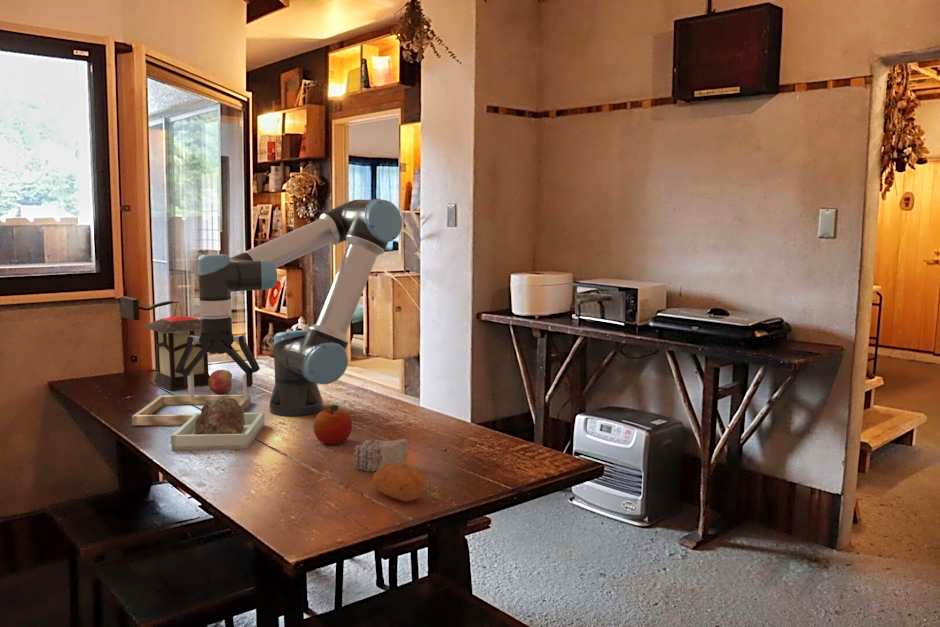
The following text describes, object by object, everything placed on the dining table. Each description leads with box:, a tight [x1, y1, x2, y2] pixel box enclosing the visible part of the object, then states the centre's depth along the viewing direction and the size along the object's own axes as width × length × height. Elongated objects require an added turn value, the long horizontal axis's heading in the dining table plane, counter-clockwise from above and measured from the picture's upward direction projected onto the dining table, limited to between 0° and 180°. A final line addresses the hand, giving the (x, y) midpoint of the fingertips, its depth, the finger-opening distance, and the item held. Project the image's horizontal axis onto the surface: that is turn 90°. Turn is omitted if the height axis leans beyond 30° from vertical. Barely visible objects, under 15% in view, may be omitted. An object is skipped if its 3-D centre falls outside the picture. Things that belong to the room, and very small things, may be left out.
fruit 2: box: [312, 404, 353, 446], centre depth 195 cm, size 10×10×10 cm
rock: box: [194, 398, 245, 435], centre depth 199 cm, size 14×9×10 cm
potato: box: [372, 464, 426, 503], centre depth 158 cm, size 7×13×7 cm, turn 41°
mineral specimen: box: [352, 438, 410, 473], centre depth 177 cm, size 13×7×6 cm, turn 114°
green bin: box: [170, 412, 265, 451], centre depth 200 cm, size 18×21×4 cm
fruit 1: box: [208, 369, 233, 395], centre depth 244 cm, size 8×8×8 cm
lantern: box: [119, 296, 210, 392], centre depth 254 cm, size 18×26×30 cm
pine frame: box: [131, 394, 252, 426], centre depth 223 cm, size 26×23×2 cm
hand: (219, 399), depth 199 cm, fingers open, 13 cm apart
